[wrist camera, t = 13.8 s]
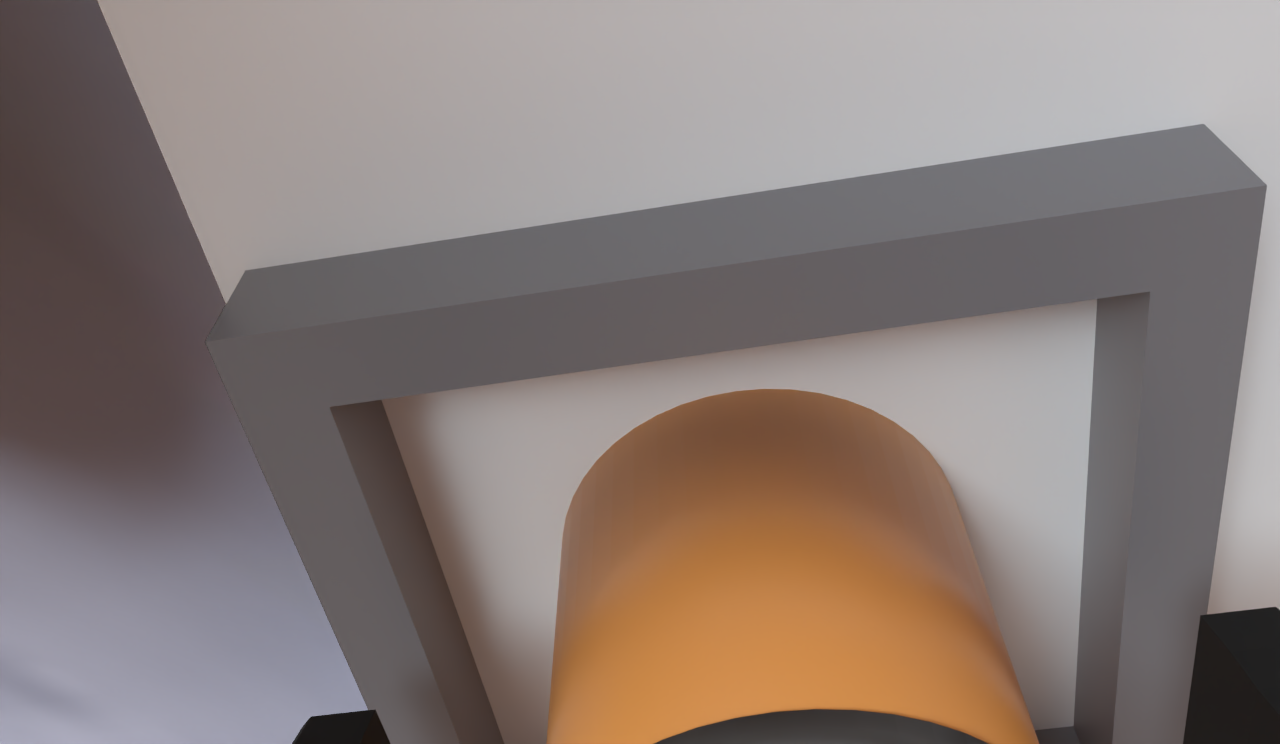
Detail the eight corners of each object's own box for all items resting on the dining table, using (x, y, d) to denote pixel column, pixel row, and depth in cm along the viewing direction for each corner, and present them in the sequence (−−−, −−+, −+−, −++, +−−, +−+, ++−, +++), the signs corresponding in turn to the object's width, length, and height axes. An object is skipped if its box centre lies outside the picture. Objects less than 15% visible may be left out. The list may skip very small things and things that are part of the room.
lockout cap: (957, 359, 11) (1147, 820, 7) (963, 664, 14) (1107, 1144, 9) (521, 418, 12) (457, 889, 7) (599, 704, 14) (583, 1182, 10)
